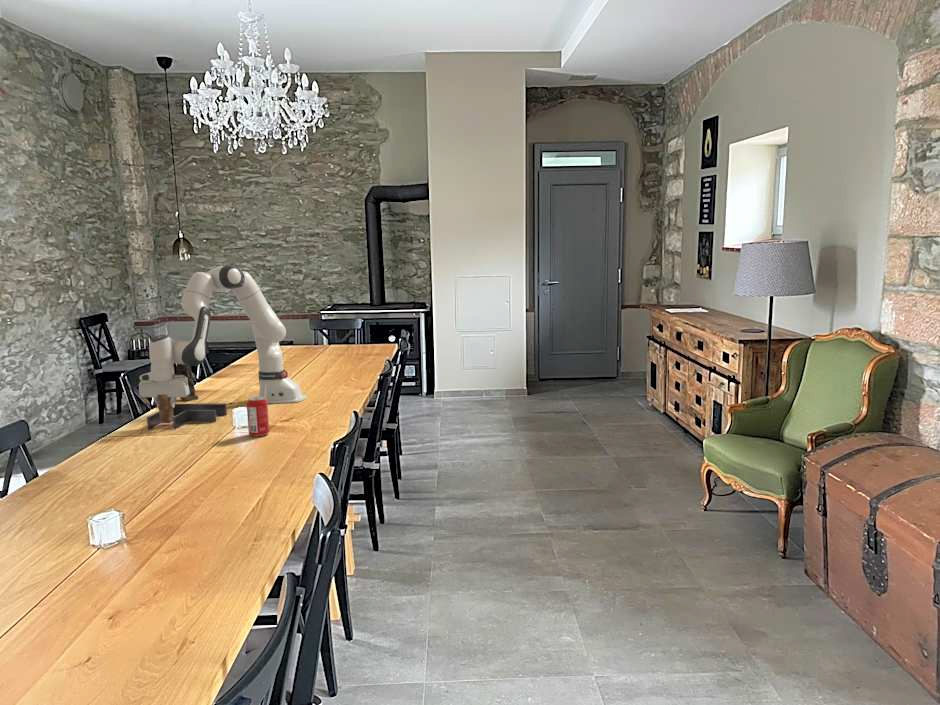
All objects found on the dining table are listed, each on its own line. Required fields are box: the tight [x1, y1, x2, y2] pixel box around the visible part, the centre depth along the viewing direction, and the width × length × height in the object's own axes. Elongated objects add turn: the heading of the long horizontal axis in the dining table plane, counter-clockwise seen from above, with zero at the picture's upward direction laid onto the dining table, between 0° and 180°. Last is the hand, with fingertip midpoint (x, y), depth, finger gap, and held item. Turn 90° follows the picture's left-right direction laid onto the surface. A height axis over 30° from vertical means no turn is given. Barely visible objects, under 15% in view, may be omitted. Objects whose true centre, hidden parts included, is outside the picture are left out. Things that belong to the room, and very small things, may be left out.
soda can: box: [246, 395, 270, 438], centre depth 287 cm, size 8×8×15 cm
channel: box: [146, 403, 228, 430], centre depth 310 cm, size 24×23×5 cm
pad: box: [153, 422, 174, 429], centre depth 304 cm, size 8×8×1 cm
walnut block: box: [158, 395, 174, 423], centre depth 303 cm, size 4×4×12 cm
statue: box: [175, 363, 199, 402], centre depth 350 cm, size 7×7×20 cm
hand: (165, 407), depth 303 cm, fingers closed on walnut block, 4 cm apart
